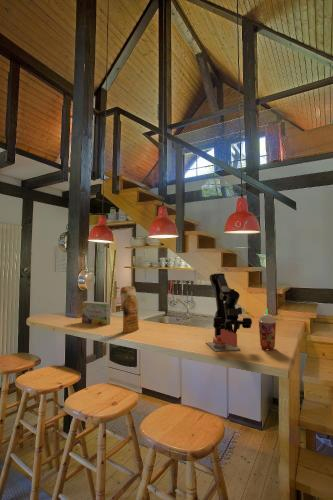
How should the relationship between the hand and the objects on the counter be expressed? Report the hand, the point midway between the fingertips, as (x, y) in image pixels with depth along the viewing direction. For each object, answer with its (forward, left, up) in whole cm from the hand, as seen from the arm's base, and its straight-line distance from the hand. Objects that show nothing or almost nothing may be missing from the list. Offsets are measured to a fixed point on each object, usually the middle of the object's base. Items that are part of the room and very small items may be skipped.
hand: (234, 338), depth 133 cm
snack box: (+71, -76, -7) cm, 104 cm away
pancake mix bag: (+48, -51, -7) cm, 70 cm away
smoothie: (-19, -3, -7) cm, 20 cm away
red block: (+3, -4, -4) cm, 7 cm away
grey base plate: (+3, -9, -7) cm, 11 cm away
